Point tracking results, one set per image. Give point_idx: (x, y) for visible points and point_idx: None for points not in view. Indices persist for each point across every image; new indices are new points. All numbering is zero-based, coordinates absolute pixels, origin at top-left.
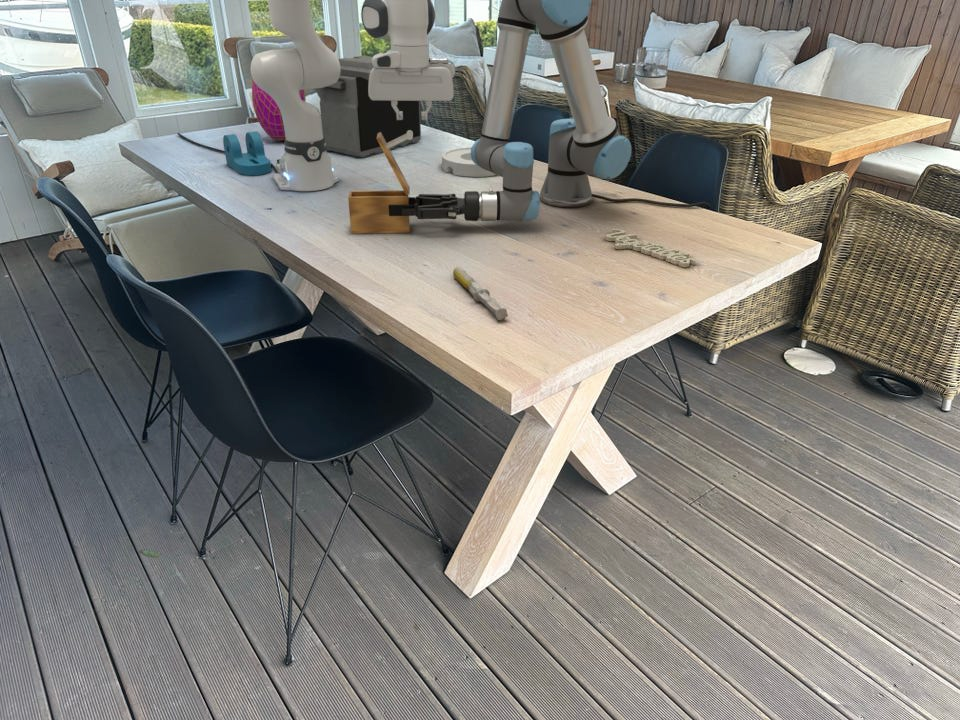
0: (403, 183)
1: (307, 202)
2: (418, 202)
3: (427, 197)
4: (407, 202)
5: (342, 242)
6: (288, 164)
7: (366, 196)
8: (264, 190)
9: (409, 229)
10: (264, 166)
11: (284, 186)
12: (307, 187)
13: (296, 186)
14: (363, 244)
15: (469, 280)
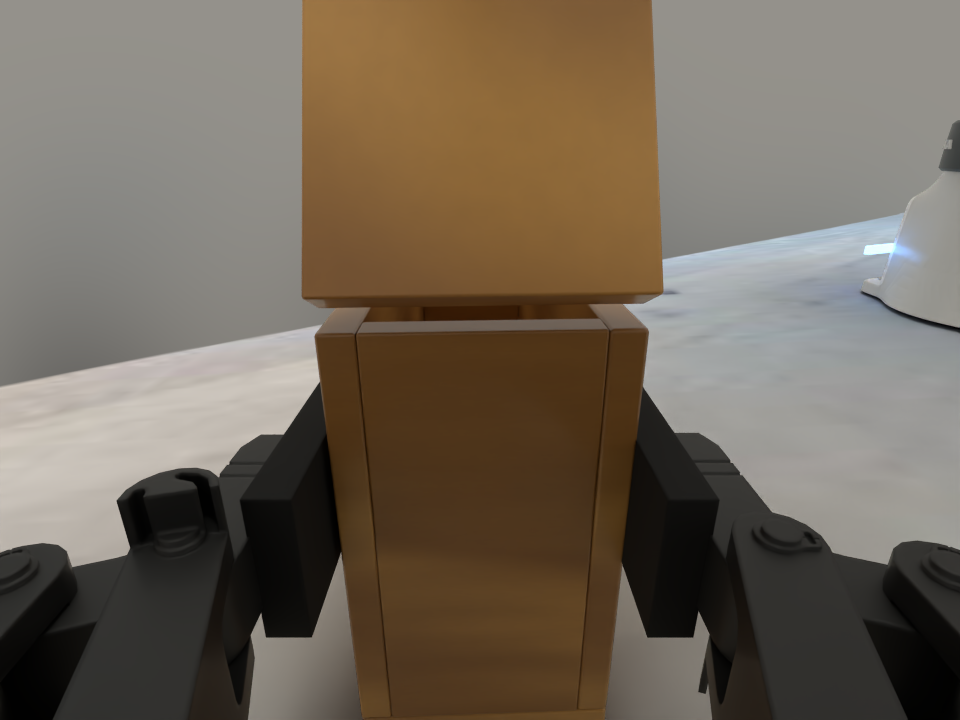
0: (302, 103)
1: (789, 324)
2: (720, 615)
3: (868, 718)
4: (327, 412)
5: (298, 409)
6: (913, 207)
7: None
8: (828, 279)
9: (366, 713)
10: None
11: (872, 281)
12: (915, 301)
13: (892, 288)
14: (221, 467)
15: None
